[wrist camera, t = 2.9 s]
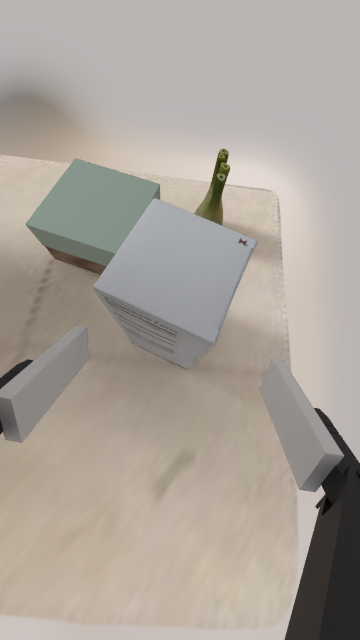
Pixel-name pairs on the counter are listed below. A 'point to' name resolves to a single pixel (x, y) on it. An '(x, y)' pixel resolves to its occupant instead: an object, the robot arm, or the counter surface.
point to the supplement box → (174, 281)
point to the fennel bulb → (215, 191)
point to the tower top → (91, 211)
